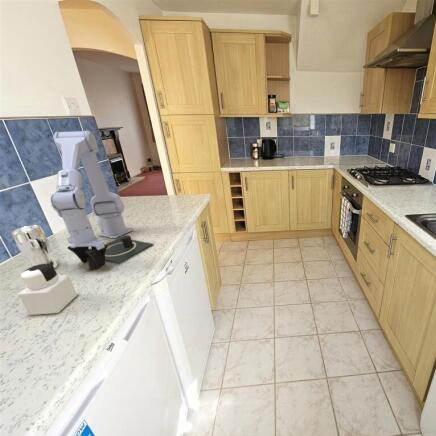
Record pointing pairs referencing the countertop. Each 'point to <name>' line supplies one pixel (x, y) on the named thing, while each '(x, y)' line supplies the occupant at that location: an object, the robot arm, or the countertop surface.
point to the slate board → (123, 250)
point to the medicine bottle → (46, 290)
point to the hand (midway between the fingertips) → (94, 263)
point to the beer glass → (33, 245)
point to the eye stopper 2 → (127, 241)
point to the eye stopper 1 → (91, 263)
